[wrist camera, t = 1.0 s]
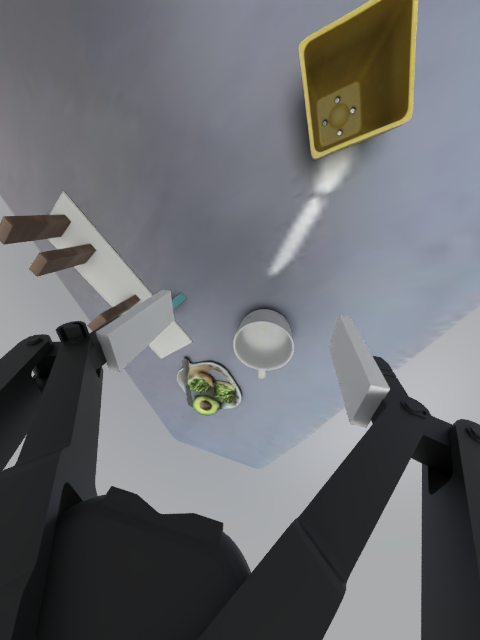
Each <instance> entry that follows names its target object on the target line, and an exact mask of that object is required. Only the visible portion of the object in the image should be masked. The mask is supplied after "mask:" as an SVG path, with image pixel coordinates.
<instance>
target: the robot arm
mask: <svg viewBox="0 0 480 640" xmlns="http://www.w3.org/2000/svg"><path fill="white" fill-rule="evenodd" d="M173 321H174V313H173V305H172V297H171V291H168V290H161V291H159V292H158V293H156V294H155V295H153V296H152V297H150V298H148V299H147V300H145V301H144V302H142V303H141V304H139V305H137V306H136V307H134V308H133V309H131V310H130V311H128V312H126V313H125V314H123V315H120V316H117V317H115V318H114V319H112V320H111V321H110V322H107V323H106V324H105V325H103V326H101V327H99V328H98V329H96V330H95V331H93V332H91V333H90V334H89V332H88V329H87V327H86V324H85V323H84V322H81V321H75V322H69V323H66V324H63V325H61V326H59V327H58V328H57V329H56V331H57V334H58V336H59V338H60V340H61V342H52V340H51V338H50V337H49V335H43V334H42V335H34V336H30V337H28V338H26V339H24V340H22V341H21V342H19V343H18V344H17V345H16V346H15V347H14V348H13V349H12V350H11V351H9V352H8V353H7V354H6V355H5V356H3V357H2V358H1V359H0V640H322V639H323V637H324V635H325V633H326V631H327V629H328V628H329V626H330V624H331V622H332V620H333V618H334V616H335V614H336V612H337V610H338V608H339V605H340V603H341V601H342V599H343V597H344V594H345V591H346V583H347V580H348V578H349V576H350V573H351V571H352V570H353V568H354V566H355V564H356V562H357V560H358V558H359V556H360V554H361V552H362V550H363V549H364V547H365V545H366V543H367V541H368V539H369V537H370V535H371V533H372V531H373V529H374V528H375V526H376V524H377V522H378V520H379V518H380V516H381V514H382V512H383V510H384V508H385V506H386V504H387V502H388V501H389V499H390V497H391V495H392V493H393V491H394V489H395V487H396V485H397V483H398V482H399V480H400V478H401V476H402V474H403V472H404V470H405V468H406V466H407V464H408V462H409V460H410V459H411V458H413V459H415V460H417V461H418V462H420V463H422V593H421V606H422V607H421V612H422V613H421V640H480V425H479V424H477V423H475V422H472V421H469V420H464V419H460V420H457V421H456V422H455V423H454V424H453V425H452V424H449V423H447V422H444V421H442V420H440V419H437V418H435V417H433V416H431V414H430V413H429V411H428V409H427V408H425V407H424V405H422V404H421V403H420V402H418V401H417V400H414V399H413V398H410V397H408V395H407V393H406V392H405V390H404V388H403V387H402V385H401V384H400V382H399V380H398V379H397V378H396V375H395V374H394V372H392V369H391V367H390V366H389V364H388V363H387V362H386V361H384V360H383V359H382V358H381V357H376V356H372V354H371V353H370V351H369V349H368V347H367V345H366V343H365V342H364V340H363V338H362V336H361V334H360V332H359V331H358V329H357V327H356V325H355V323H354V321H353V320H352V318H351V317H348V316H341V315H340V316H339V318H338V321H337V324H336V327H335V330H334V333H333V336H332V339H331V342H330V345H329V348H330V352H331V356H332V359H333V363H334V367H335V370H336V374H337V378H338V381H339V385H340V389H341V392H342V396H343V400H344V403H345V407H346V411H347V414H348V418H349V422H350V424H353V425H357V426H362V427H367V426H368V424H369V423H370V421H372V423H373V425H372V426H371V427H370V429H369V430H368V431H367V432H366V434H365V435H364V436H363V437H362V439H361V440H360V441H359V442H358V443H357V445H356V446H355V447H354V449H353V450H352V451H351V453H349V455H348V456H347V457H346V459H345V460H344V461H343V462H342V463H341V465H340V466H339V467H338V469H337V470H336V471H335V472H334V474H333V475H332V476H331V477H330V479H329V480H328V481H327V482H326V484H325V485H324V486H323V487H322V489H321V490H320V491H319V492H318V494H317V495H316V496H315V497H314V499H313V500H312V501H311V502H310V504H309V505H308V506H307V507H306V509H305V510H304V511H303V513H302V514H301V515H300V516H299V517H298V518H297V519H295V520H294V521H293V523H291V525H290V526H289V527H288V528H287V529H286V531H285V532H284V533H283V534H282V536H281V537H280V538H279V539H278V541H277V542H276V543H275V545H274V546H273V547H272V548H271V549H270V551H269V552H268V553H267V554H266V556H265V557H264V558H263V559H262V561H261V562H260V563H259V564H258V566H257V567H256V568H255V569H254V570H253V572H252V573H251V571H250V569H249V567H248V564H247V562H246V560H245V558H244V556H243V554H242V553H241V551H240V550H239V548H238V547H237V545H236V544H235V543H234V542H233V541H232V539H231V538H230V537H229V536H228V535H226V534H225V533H224V532H223V523H222V522H219V521H216V520H213V519H210V518H207V517H204V516H201V515H198V514H194V513H187V514H160V513H158V512H157V511H156V510H154V509H153V508H152V507H151V506H150V505H149V504H148V503H146V502H145V501H144V500H143V499H142V498H141V497H139V496H138V495H137V494H134V493H131V492H128V491H125V490H122V489H119V488H116V487H113V486H111V488H110V489H109V491H108V492H107V494H106V495H101V496H97V493H96V488H95V475H96V461H97V448H98V434H99V421H100V408H101V393H102V380H103V369H102V365H104V364H105V363H106V362H107V365H108V368H109V370H113V371H118V372H121V371H122V370H123V369H124V368H125V367H126V366H127V365H128V364H129V363H130V362H131V361H132V360H133V359H134V358H135V357H136V356H137V355H138V354H140V353H141V352H142V351H143V350H144V349H145V348H146V347H147V346H148V345H149V344H150V343H151V342H152V341H153V340H154V339H155V338H156V337H157V336H158V335H159V334H160V333H161V332H162V331H163V330H164V329H166V328H167V327H168V326H169V325H170V324H171V323H172V322H173ZM32 370H33V372H34V374H35V375H34V376H33V377H32V376H31V373H32ZM26 435H27V436H26ZM25 436H26V439H25V442H24V444H23V447H22V450H21V452H20V455H19V457H18V461H17V462H16V464H15V466H13V467H11V468H8V469H5V470H3V469H4V468H5V466H6V465H7V463H8V461H9V460H10V459H11V457H12V456H13V454H14V452H15V451H16V449H17V448H18V446H19V445H20V444H21V442H22V441H23V439H24V438H25Z"/></svg>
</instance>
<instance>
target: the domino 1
mask: <svg viewBox="0 0 480 640" xmlns="http://www.w3.org/2000/svg"><path fill="white" fill-rule="evenodd" d="M70 223H71V221H70V220H69V218H68V217H67V216H66V215H35V216H6V217H3V219H2V221H1V224H0V241H1V242H2V243H3V244H11V243H17V242H26V241H34V240H41V239H49V238H57V237H62V235H63V234H64V232H65V231H66V229H67V228H68V226H69V225H70Z"/></svg>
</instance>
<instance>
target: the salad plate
mask: <svg viewBox="0 0 480 640" xmlns="http://www.w3.org/2000/svg"><path fill="white" fill-rule="evenodd" d="M182 364H183V368H182V369H181V370H180V371H179V373H178V375H177V381H178V383H179V385H180V386H181V387H182V389H183V390H184V391H185V393H186V394H187V401H188V404H189V406H191V407H193V408H194V410H195V411H196V412H198V413H199V414H202V415H213V414H215V413H216V412H218V409H227V408H234V407H237V406H239V404H240V403H241V400H242V393H241V390H240V388H239V386H238V385H237V384H236V383H235V381H234V379H233V378H232V376H231V375H230V374H229V373H228V371H227V370H226V369H225V368H223V367H222V366H221V365H219V364H216V363H214V362H200V363H195V364H192V363H190V362H189V360H188V359H186V358H183V359H182ZM211 369H214V370H217V371H219V372H220V373H222V374H223V375H225V376H226V377H227V379H228V380H229V381H230V383H228V382H224V381H218V380H215V379H214V378H212V377H211V375H210V374H208V373H207V372H208V371H209V370H211Z"/></svg>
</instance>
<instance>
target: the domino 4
mask: <svg viewBox="0 0 480 640" xmlns="http://www.w3.org/2000/svg"><path fill="white" fill-rule="evenodd" d="M139 301H140V299H139V297H138V296H137V295H136V294H135V295H134V296H132V297H130V298H128V299H126V300H125V301H123V302H121V303H119V304H118V305H116V306H114V307H112V308H110V309H109V310H107V311H105V312H103V313H102V314H100V315H99V316H97V317H96V318H95V319H94V320H93V321H92V322H91V323H90V324H88V325H87V326H88V327H89V328H90V329H91V330H92V331H95V330H96V329H98V328H99V327H101V326H103V325H105V324H106V323H107V322H110V321H111V320H112V319H114V318H115V317H117V316H119V315H121V314H122V313H124V312H126V311H127V310H129V309H130V308H131V307H133V306H134V305H135V304H136V303H138V302H139Z"/></svg>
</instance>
